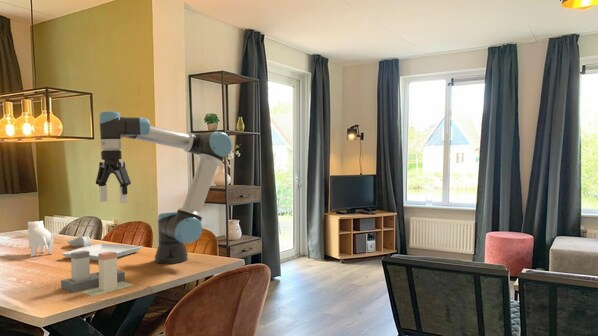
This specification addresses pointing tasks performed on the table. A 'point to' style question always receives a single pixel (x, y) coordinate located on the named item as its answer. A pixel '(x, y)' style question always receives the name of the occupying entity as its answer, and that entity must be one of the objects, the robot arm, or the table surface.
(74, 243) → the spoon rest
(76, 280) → the grey plug
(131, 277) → the table surface
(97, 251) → the square plate
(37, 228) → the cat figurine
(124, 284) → the green mat
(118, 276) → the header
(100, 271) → the cream plug
